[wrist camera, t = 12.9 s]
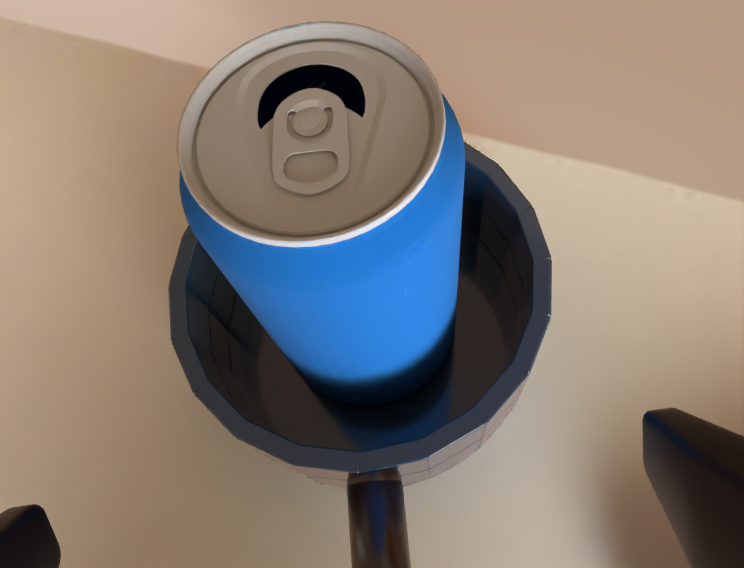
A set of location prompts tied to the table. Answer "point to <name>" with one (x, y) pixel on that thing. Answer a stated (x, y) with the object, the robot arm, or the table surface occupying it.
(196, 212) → the beverage can
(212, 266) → the pot
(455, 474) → the table surface
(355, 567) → the pot handle
